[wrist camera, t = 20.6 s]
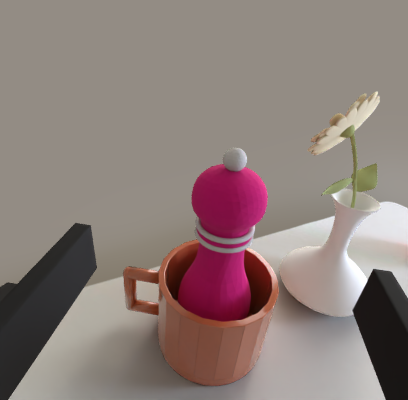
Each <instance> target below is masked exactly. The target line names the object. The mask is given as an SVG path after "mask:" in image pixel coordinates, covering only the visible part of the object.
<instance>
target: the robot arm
mask: <svg viewBox="0 0 408 400" xmlns="http://www.w3.org/2000/svg"><path fill="white" fill-rule="evenodd" d="M96 268H97V266H96V259H95V252H94V245H93V238H92V232H91V226H90V225H85V224H78V223H75V224H74V225H73V226H72V227H71V228H70V229H69V231H67V232H66V234H65V235H64V236H63V237H62V238H61V239H60V240H59V241H58V242H57V243H56V244H55V245H54V246H53V247H52V248H51V249H50V250H49V251H48V253H46V255H45V256H44V257H43V258H42V259H41V260H40V261H39V262H38V263H37V264H36V265H35V266H34V267H33V268H32V269H31V270H30V271H29V272H28V273H27V275H25V277H23V278H22V280H21V281H20V282H19V283H18V284H14V283H6V284H5V285H3V286H1V287H0V400H8V399H9V398H10V396H11V395H12V393H13V392H14V390H15V389H16V387H17V386H18V384H19V383H20V381H21V380H22V378H23V377H24V375H25V374H26V372H27V371H28V369H29V368H30V366H31V365H32V363H33V362H34V361H35V359H36V358H37V356H38V355H39V353H40V352H41V350H42V349H43V347H44V346H45V344H46V343H47V341H48V340H49V338H50V337H51V335H52V334H53V332H54V331H55V329H56V328H57V326H58V325H59V323H60V322H61V320H62V319H63V317H64V316H65V314H66V313H67V312H68V310H69V309H70V307H71V306H72V304H73V303H74V301H75V300H76V298H77V297H78V295H79V294H80V292H81V291H82V289H83V288H84V286H85V285H86V283H87V282H88V280H89V279H90V277H91V276H92V274H93V273H94V271H95V270H96ZM352 311H353V314H354V317H355V319H356V322H357V325H358V327H359V330H360V333H361V335H362V338H363V340H364V343H365V346H366V348H367V351H368V354H369V356H370V359H371V362H372V364H373V367H374V370H375V372H376V375H377V378H378V380H379V383H380V386H381V388H382V391H383V393H384V396H385V399H386V400H408V298H407V296H406V295H405V293H404V291H403V290H402V288H401V286H400V285H399V283H398V282H397V280H396V278H395V277H394V275H393V273H392V272H390V271H384V270H377V269H373V271H372V273H371V275H370V277H369V279H368V281H367V283H366V285H365V286H364V288H363V290H362V292H361V294H360V296H359V298H358V300H357V302H356V304H355V306H354V308H353V310H352Z"/></svg>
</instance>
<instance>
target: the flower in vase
mask: <svg viewBox="0 0 408 400" xmlns="http://www.w3.org/2000/svg"><path fill="white" fill-rule="evenodd" d="M377 94H378V92H374V93H373V94H372V95H371V96H370V97H369V98H368V99H367V100H365V98H366V94H363V95H361V96H360V97H359V98H358V100H357V101H356V102H355V103H354V104H352V105H351V107H350V108H349V110H348V112H347V113H346V115H345V117H344V115H343V114H340V113H339V114H336V115H334V116H333V117H332V118H331V119H330V125H331V127H329V128H326V129H324V130H322V131H321V132H320V133H319V134H317V135H315V136H314V137H313V138H312V139H311V142H317V143H316V144H314V145H312V146H311V147H310V148H309V149H308V151H309V152H310V151H312V152H311V154H314V155H317V154H321V153H323V152H325V151H326V150H328V149H330V148H332V147H333V146H334V145H336V144H339V143H340V142H341V141H343V140H344V139H345V138H349V137H350V139H351V145H352V152H353V162H354V171H353V174H352V177H351V178H346V179H342V180H340V181H338V182H336V183H334V184H332V185H331V186H329V187H328V188H327V189H326V190H325V191H324V193H323V194H332V198H333V200H334V203H335V210H336V212H335V220H334V225H333V228H332V231H331V234H330V236H329V239H328V240H327V242H326V243H325V244H324V245H323V246H310V247H303V248H299V249H296V250H293V251H291V252H289V253H288V254H287V255H286V256H285V257H284V258H283V260H282V261H281V263H280V267H279V272H280V276H281V279H282V281H283V283H284V285H285V287H286V288H287V290H288V291H289V292H290V293H291V295H292V296H293V297H294V298H296V299H297V300H298V301H299V302H300V303H302V304H303V305H305V306H307V307H308V308H310V309H312V310H314V311H317V312H319V313H322V314H325V315H329V316H335V317H347V316H353V315H354V314H353V311H352V310H353V308H354V306H355V304H356V302H357V300H358V298H359V296H360V294H361V292H362V290H363V288H364V286H365V285H366V283H367V279H366V277H365V276H364V274H363V273H362V271H361V270H360V269H359V268H358V266H357V265H356V264H355V263H354V262H353V261H352V260H351V259H350V258H349V257H348V255H347V248H348V245H349V242H350V240H351V238H352V236H353V234H354V232H355V231H356V229H357V227H358V226H359V225H360V223H361V222H362V221H363V220H364V219H365V218H366V217H367V216H369V215H371V214H373V213H375V212H377V211H379V210H380V208H381V205H380V203H379V202H378V201H377V200H375V199H374V198H373V197H371V196H369V195H367V194H364V193H362V191H367V190H371V189H374V188H375V187H376V185H377V164H373V165H370V166H367V167H365V168H363V169H360V170H358V171H357V151H356V144H355V137H354V132H355V130H356V129H357V128H358V127H359V126H361V124H362V123H363V122H364V121H365V120H366V119H367V118H368V117H369V116H370V114H371V113H372V112H373V111H374V110H375V109H376V106H377V105H378V104H379V102H380V100H379V98H380V96H377ZM376 96H377V97H376ZM364 100H365V101H364ZM351 182H352V185H353V190H350V189H343V188H344V187H346V186H347V185H349V184H350V183H351ZM323 194H322V195H323Z"/></svg>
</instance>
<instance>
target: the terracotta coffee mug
mask: <svg viewBox="0 0 408 400" xmlns="http://www.w3.org/2000/svg"><path fill="white" fill-rule="evenodd" d="M198 248H199V241H198V240H197V239H196V240H192V241H189V242H186V243H183V244H182V245H180V246H178V247H176V248H174V249H173V250H172V251H171V252H170V253H169V254H168V255H167V256H166V257H165V258H164V260H163V262H162V264H161V267H160V269H159V271H154V270H148V269H143V268H136V267H130V266H129V267H126V268H125V269H124V272H123V276H124V289H125V302H126V308H127V309H128V310H131V311H137V312H142V313H148V314H153V315H158V341H159V346H160V349H161V352H162V354H163V356H164V358H165V360H166V361H167V362H168V364H169V365H170V366H171V367H172V368H173V369H174V371H176V372H177V373H178V374H179V375H181V376H182V377H184V378H186V379H187V380H190V381H192V382H194V383H198V384H201V385H208V386H220V385H226V384H229V383H232V382H235V381H237V380H239V379H241V378H242V377H243V376H245V375H246V374H247V373H248V372H249V371H250V370H251V369H252V368H253V366H254V365H255V363H256V362H257V360H258V357H259V354H260V351H261V348H262V345H263V342H264V339H265V336H266V332H267V329H268V326H269V323H270V320H271V316H272V313H273V310H274V307H275V303H276V300H277V297H278V294H279V289H278V280H277V277H276V275H275V273H274V271H273V269H272V267H271V265H270V264H269V263H268V262H267V261H266V260H265V259H264V258H263V257H262V256H261V255H260V254H259V253H257V252H255V251H254V250H252V249H250V248H249V247H248V248H247V249H245V252H244V270H245V273H246V277H247V279H248V282H249V286H250V292H251V303H250V309H249V313H248V315H247V317H246V318H245V319H243V320H236V321H225V322H222V321H216V320H210V319H205V318H201V317H199V316H197V315H195V314H193V313H191V312H189V311H187V310H185V309H184V308H183V307H182V306H181V305H180V304H178V293H179V287H180V284H181V281H182V279H183V277H184V275H185V273H186V272H187V270H188V269H189V268H190V266H191V265H192V263H193V262H194V260H195V258H196V256H197V252H198ZM136 280H138V281H144V282H150V283H156V284H158V303H155V302H149V301H144V300H138V299H137V289H136Z"/></svg>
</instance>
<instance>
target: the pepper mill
mask: <svg viewBox="0 0 408 400" xmlns="http://www.w3.org/2000/svg"><path fill="white" fill-rule="evenodd" d="M246 162H247V156H246V154H245V152H244V151H243V150H241V149H239V148H231V149H229V150H227V151H226V152H225V154H224V157H223V164H220V165H216V166H212V167H210V168H208V169H207V170H205V171H204V172H203V173H201V175H200V176H199V177H198V178H197V180H196V182H195V184H194V187H193V191H192V206H193V209H194V212H195V213H196V214H197V219H196V227H195V236H196V238H197V240H198V241H199V248H198V252H197V256H196V258H195V260H194V262H193V263H192V265H191V266H190V268H189V269H188V270H187V272H186V273H185V275H184V277H183V279H182V281H181V284H180V287H179V293H178V304H180V305H181V306H182V307H183V308H184V309H185V310H187V311H189V312H191V313H193V314H195V315H197V316H199V317H201V318H205V319H210V320H216V321H222V322H225V321H236V320H243V319H245V318H246V317H247V315H248V313H249V309H250V303H251V292H250V286H249V282H248V279H247V277H246V273H245V270H244V252H245V249H247V248H248V247H249V246H250V245H251V243H252V241H253V234H254V232H255V224H256V223H258V222H259V221H260V220H261V218H262V217H263V215H264V214H265V210H266V207H267V198H268V196H267V190H266V187H265V184H264V183H263V181H262V179H261V178H260V177H259V176H258V175H257V174H256V173H255V172H253V171H252V170H250V169H248V168H246V167H245V165H246Z"/></svg>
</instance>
